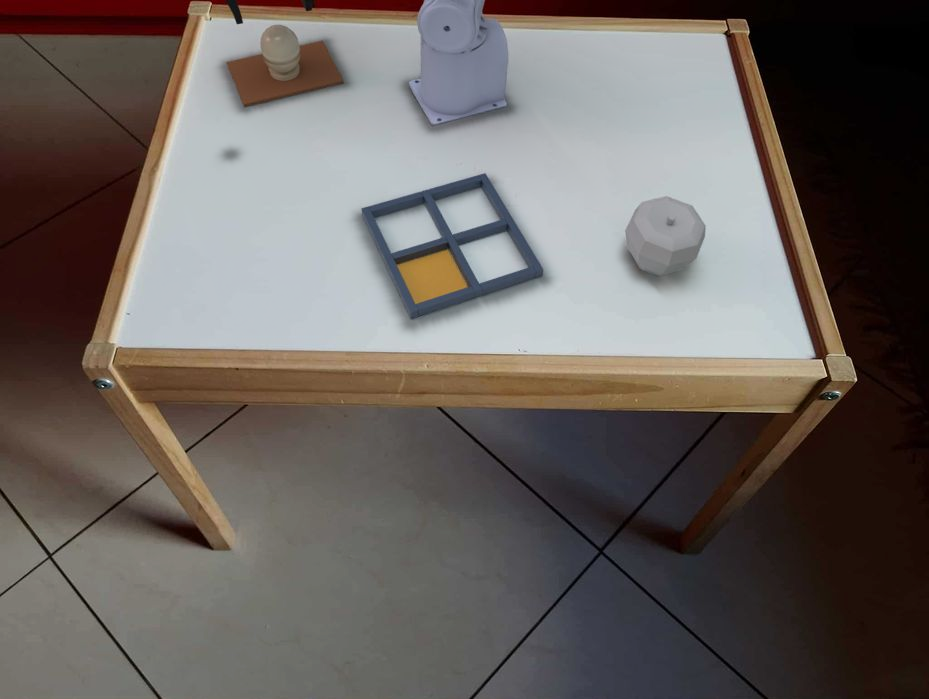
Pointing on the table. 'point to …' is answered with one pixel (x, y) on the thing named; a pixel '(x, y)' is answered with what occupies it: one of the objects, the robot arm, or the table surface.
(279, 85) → the mat
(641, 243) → the apple
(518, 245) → the holder
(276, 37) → the beige domed knob
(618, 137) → the table surface
